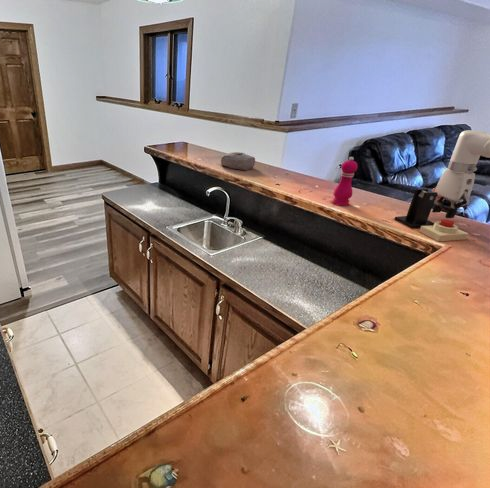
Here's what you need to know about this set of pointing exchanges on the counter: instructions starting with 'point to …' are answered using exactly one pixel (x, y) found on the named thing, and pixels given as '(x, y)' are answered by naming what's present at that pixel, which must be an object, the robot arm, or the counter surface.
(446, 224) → the button
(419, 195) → the toaster lever
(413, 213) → the lever bracket
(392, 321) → the counter surface
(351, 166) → the pepper mill
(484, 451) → the counter surface
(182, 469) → the counter surface
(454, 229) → the button block
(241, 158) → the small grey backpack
